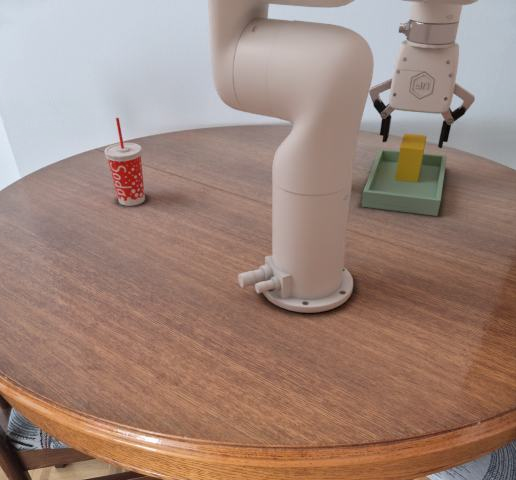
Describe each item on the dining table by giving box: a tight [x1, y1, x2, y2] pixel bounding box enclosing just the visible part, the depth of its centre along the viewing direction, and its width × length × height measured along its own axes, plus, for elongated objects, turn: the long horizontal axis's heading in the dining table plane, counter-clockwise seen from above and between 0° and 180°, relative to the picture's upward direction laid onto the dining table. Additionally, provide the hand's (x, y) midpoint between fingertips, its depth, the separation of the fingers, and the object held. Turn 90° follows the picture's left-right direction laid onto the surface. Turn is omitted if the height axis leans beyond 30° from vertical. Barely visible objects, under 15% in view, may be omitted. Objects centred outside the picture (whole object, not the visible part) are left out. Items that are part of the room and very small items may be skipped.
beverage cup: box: [104, 117, 146, 207], centre depth 91 cm, size 6×6×14 cm
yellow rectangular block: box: [395, 133, 428, 182], centre depth 99 cm, size 7×4×6 cm, turn 162°
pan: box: [361, 148, 448, 217], centre depth 97 cm, size 20×13×3 cm, turn 163°
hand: (412, 142), depth 97 cm, fingers open, 9 cm apart
